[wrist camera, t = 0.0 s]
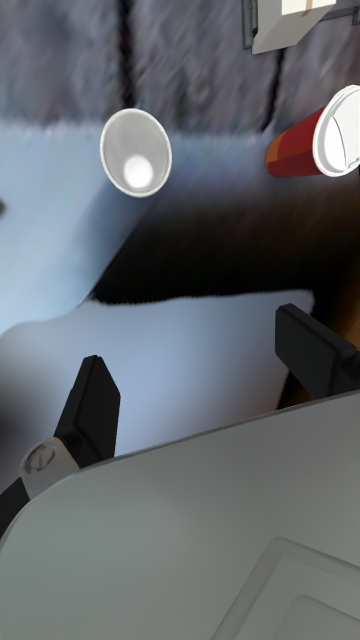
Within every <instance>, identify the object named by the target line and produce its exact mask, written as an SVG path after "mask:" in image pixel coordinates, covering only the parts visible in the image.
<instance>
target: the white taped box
mask: <svg viewBox="0 0 360 640" xmlns="http://www.w3.org/2000/svg"><path fill="white" fill-rule="evenodd" d="M335 4H336V0H258V33H257V35H256V36H255V38H254V39H253V41H254V44H253V45H252V55H253V54H258V53H262V52H267V51H271V50H276V49H280V48H285V47H289V46H294V45H296V44H297V43H298V42H299V41H300V40H301V39H302V38H303V37H304V36H305V35H306V34H307V32H308V31H309V30H310V29H311V28H312V27H313V26H314V25H315V24H316V23H317V22H318V21H319V20H320V19H321V18H322V17H323V16H324V15H325V14H326V13H327V12H328V11H329V10H330V9H331V8H332V7H333V6H334V5H335Z"/></svg>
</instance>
